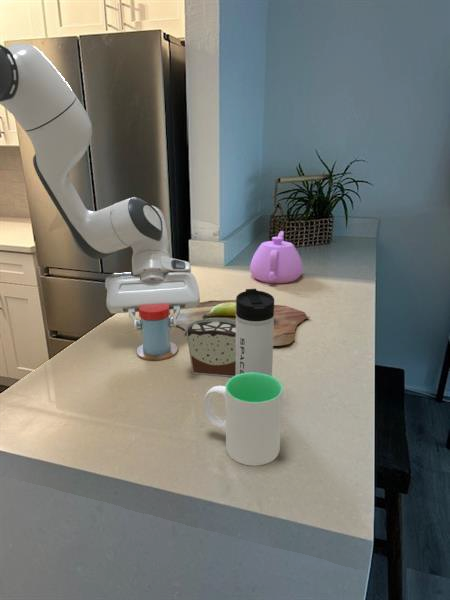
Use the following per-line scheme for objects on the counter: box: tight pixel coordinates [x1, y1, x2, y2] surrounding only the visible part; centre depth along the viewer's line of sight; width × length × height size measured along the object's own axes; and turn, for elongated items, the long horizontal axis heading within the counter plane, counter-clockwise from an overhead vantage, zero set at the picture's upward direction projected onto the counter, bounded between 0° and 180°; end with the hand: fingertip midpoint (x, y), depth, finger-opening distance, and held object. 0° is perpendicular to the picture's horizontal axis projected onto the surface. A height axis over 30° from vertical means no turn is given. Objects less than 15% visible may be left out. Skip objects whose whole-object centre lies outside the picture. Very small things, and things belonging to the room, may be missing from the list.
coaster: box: [136, 341, 179, 362], centre depth 95 cm, size 9×9×1 cm
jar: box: [140, 315, 171, 355], centre depth 93 cm, size 6×6×10 cm
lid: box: [138, 303, 171, 320], centre depth 91 cm, size 6×6×2 cm
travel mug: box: [235, 288, 275, 377], centre depth 73 cm, size 6×7×20 cm
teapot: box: [249, 230, 304, 284], centre depth 145 cm, size 25×18×14 cm
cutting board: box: [169, 299, 311, 347], centre depth 110 cm, size 35×27×4 cm
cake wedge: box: [183, 318, 236, 378], centre depth 86 cm, size 12×6×10 cm, turn 80°
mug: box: [203, 372, 283, 467], centre depth 64 cm, size 12×8×10 cm, turn 67°
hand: (155, 327), depth 92 cm, fingers closed on jar, 6 cm apart
